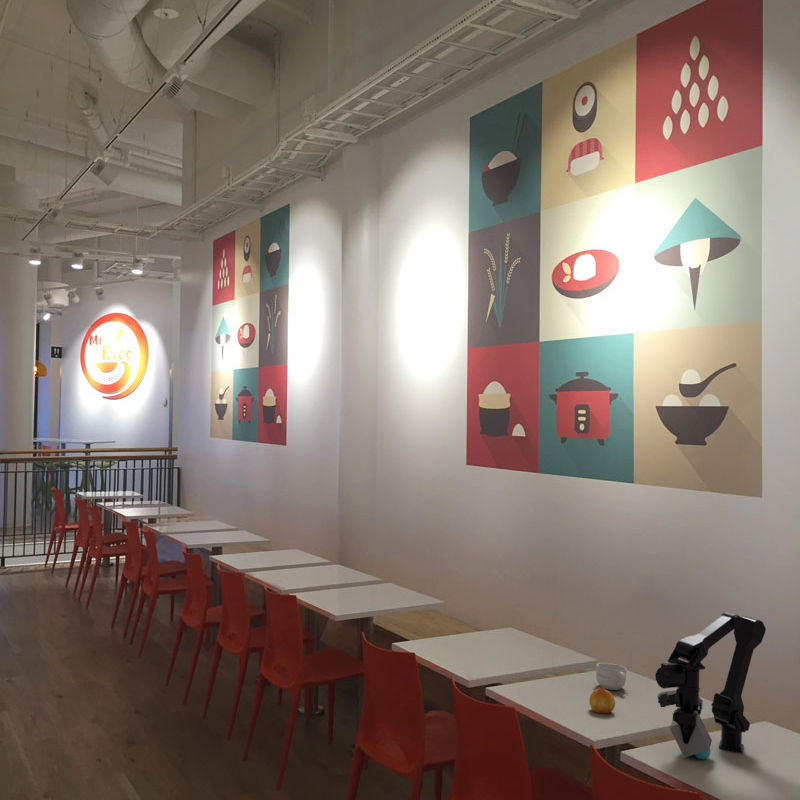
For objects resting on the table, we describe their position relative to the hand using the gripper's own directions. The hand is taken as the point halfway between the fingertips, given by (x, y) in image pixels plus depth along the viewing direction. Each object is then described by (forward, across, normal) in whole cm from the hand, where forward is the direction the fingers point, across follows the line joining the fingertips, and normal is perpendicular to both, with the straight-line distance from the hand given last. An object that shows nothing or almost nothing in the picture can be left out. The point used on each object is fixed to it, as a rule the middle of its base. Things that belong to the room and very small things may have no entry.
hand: (687, 739), depth 231 cm
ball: (+2, 0, +4) cm, 4 cm away
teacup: (+5, -51, -32) cm, 60 cm away
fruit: (+5, -24, -30) cm, 39 cm away
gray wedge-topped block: (+2, 0, +3) cm, 4 cm away
